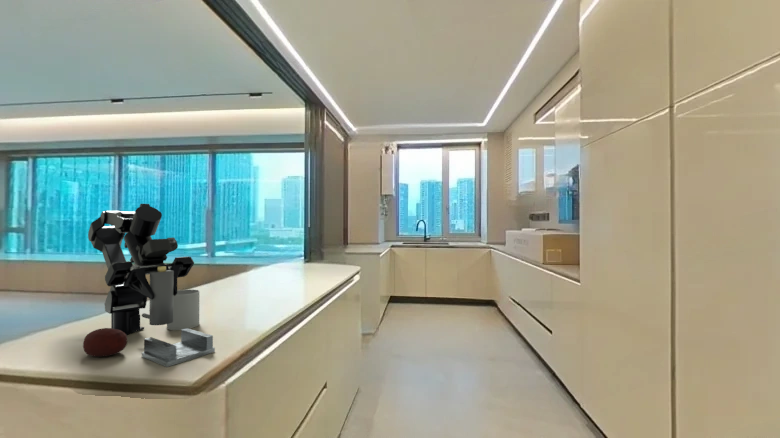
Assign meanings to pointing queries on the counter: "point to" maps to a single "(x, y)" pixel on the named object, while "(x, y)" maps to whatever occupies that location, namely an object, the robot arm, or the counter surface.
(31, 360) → the counter surface
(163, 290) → the plug
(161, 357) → the housing
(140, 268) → the robot arm
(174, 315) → the cup
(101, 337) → the potato
